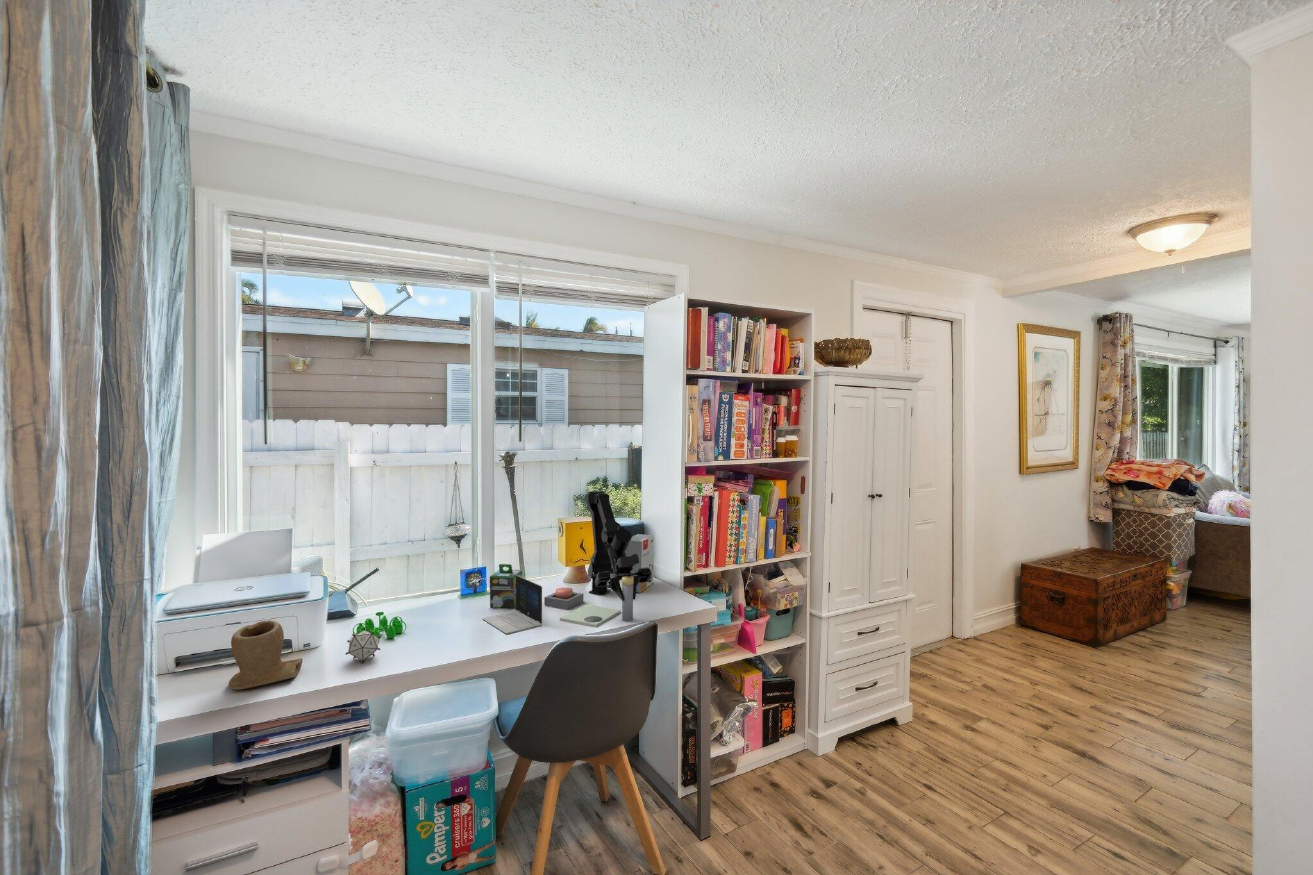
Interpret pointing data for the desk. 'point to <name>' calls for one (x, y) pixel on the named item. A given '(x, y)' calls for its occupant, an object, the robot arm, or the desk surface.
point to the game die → (363, 645)
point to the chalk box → (503, 587)
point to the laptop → (521, 609)
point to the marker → (627, 598)
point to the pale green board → (590, 615)
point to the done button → (564, 593)
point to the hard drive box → (642, 556)
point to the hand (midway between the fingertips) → (629, 599)
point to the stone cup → (261, 656)
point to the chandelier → (382, 626)
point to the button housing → (563, 601)
